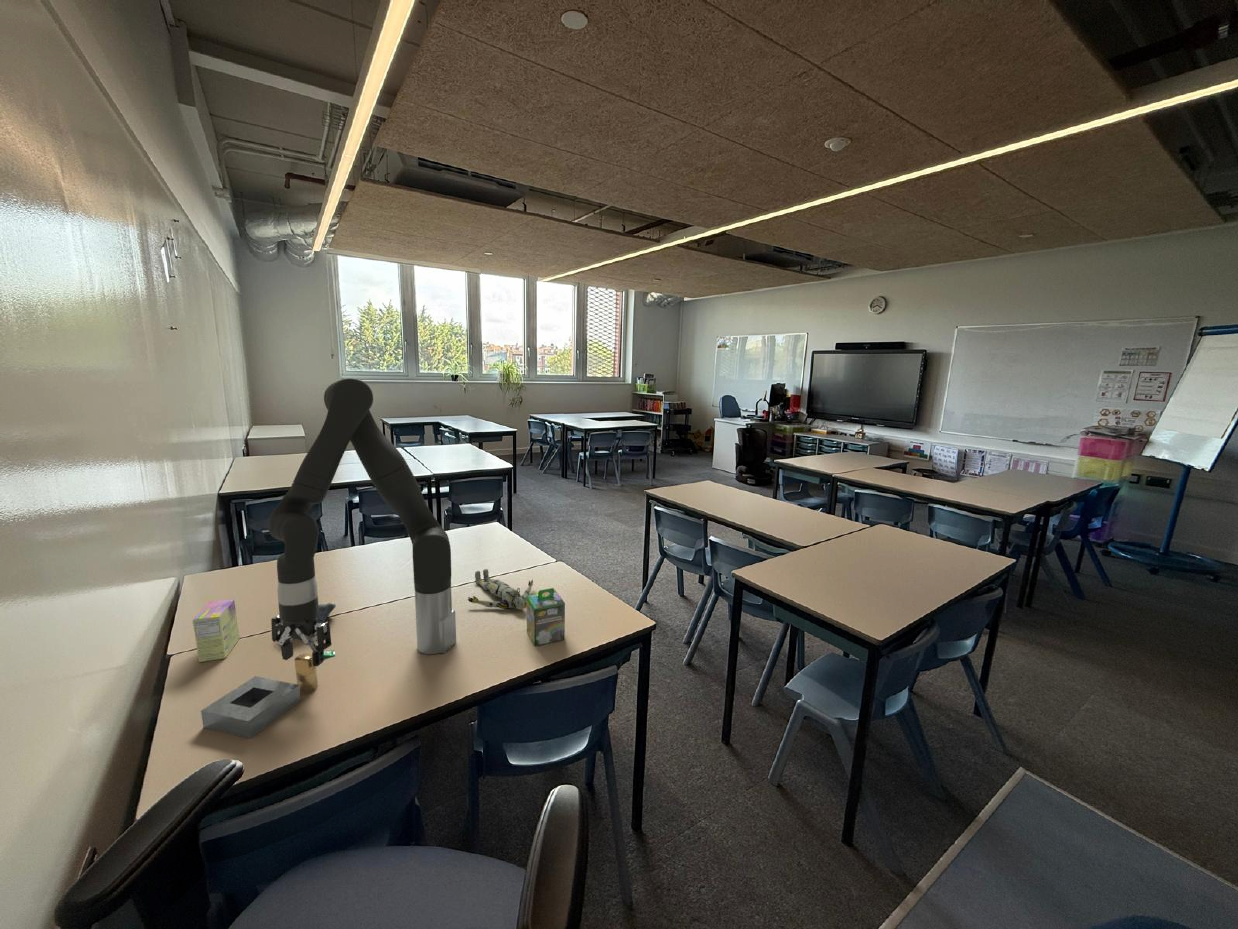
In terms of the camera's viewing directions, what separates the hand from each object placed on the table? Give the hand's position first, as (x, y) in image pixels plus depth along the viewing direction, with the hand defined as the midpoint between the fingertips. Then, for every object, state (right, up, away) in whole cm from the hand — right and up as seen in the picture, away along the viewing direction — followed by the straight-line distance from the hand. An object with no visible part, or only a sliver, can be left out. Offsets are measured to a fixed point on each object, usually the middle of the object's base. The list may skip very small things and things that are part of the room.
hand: (303, 661), depth 113 cm
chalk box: (+52, -4, +27) cm, 59 cm away
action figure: (+34, +1, +51) cm, 61 cm away
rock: (-16, -1, +29) cm, 33 cm away
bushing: (0, -7, +1) cm, 7 cm away
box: (-32, -3, +15) cm, 35 cm away
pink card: (-3, -5, +15) cm, 16 cm away
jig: (-6, -8, -8) cm, 13 cm away
